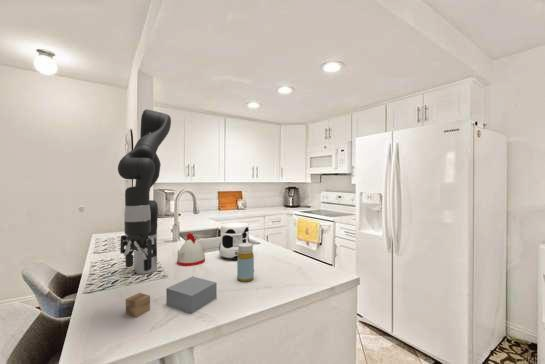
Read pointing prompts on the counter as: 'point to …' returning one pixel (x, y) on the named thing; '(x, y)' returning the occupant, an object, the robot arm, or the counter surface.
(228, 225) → the milk container
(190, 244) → the kitchen timer
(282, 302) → the counter surface
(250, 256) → the bottle
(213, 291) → the gray square block
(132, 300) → the walnut cube
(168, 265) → the counter surface
